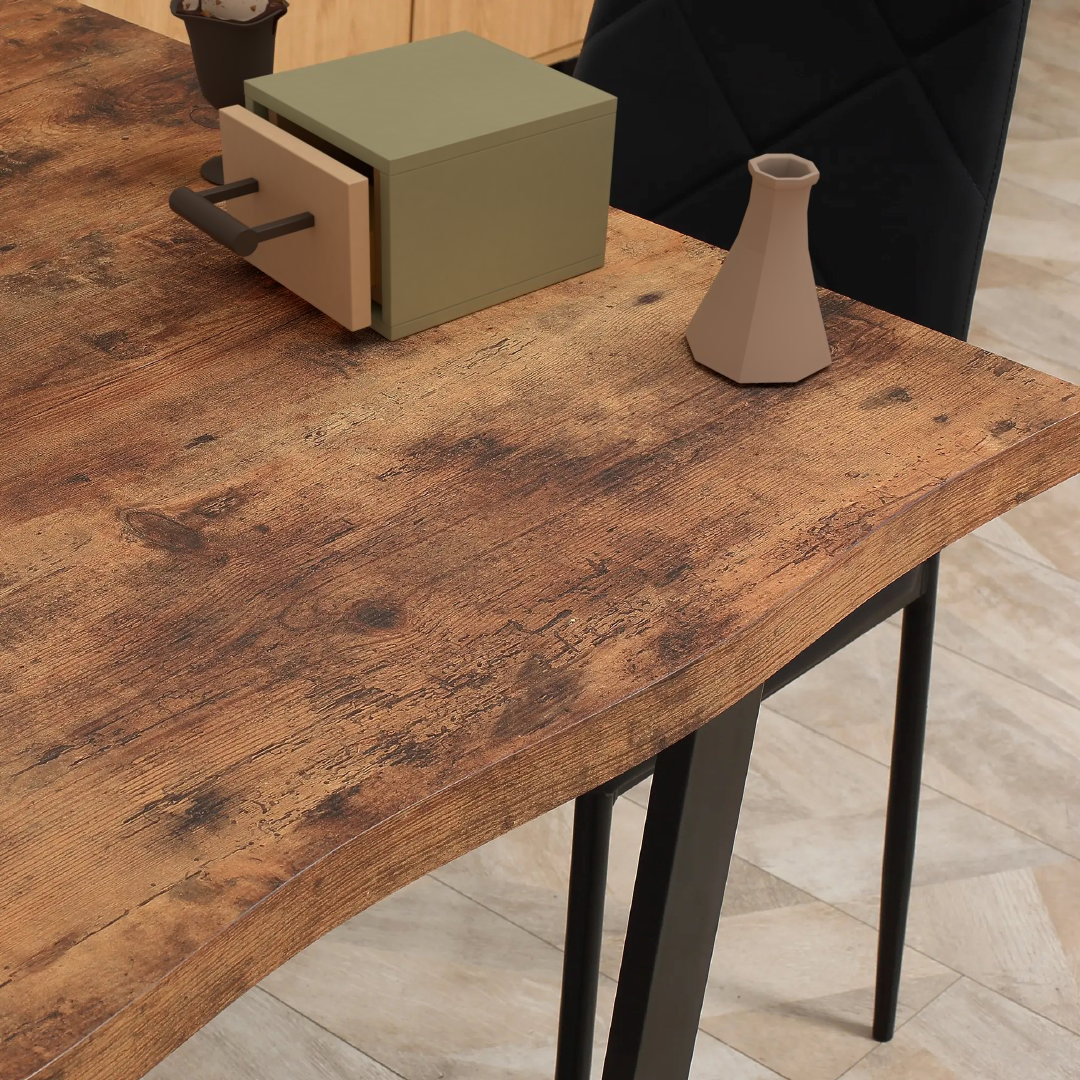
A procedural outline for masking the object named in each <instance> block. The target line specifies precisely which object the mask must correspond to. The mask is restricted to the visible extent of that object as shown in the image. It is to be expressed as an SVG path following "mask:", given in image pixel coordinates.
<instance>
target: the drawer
mask: <svg viewBox="0 0 1080 1080" xmlns="http://www.w3.org/2000/svg"><path fill="white" fill-rule="evenodd" d="M268 113H269V122H268V121H266V120H264V119H262V118H261V117H259V116H257V115H255V114H254V113H252V112H250V111H248V110H247V109H245V108H243V107H241V106H240V105H234V106H230V107H226V108H221V109H219V111H218V119H219V121H218V122H219V133H220V144H221V145H220V146H221V154H222V159H223V172H224V185H218V186H214V187H211V188H210V187H209V188H207V189H202V190H199V191H194V189H191V188H190V187H188V186H183V185H182V186H178V187H176V188H174V189H173V191H172V192H171V193H170V194H169V198H168V206H169V209H170V210H171V211H172V212H173V213H174V214H176V215H177V216H179V217H180V218H182V219H183V220H185V221H186V222H187V223H189V224H190V225H192V226H194V227H195V228H197V229H198V230H200V231H201V232H202V233H204V234H206V235H207V236H208V237H210V238H211V239H213V240H214V241H216V242H217V243H218V244H220V245H221V246H223V247H225V248H226V249H228V250H229V251H230V252H232V253H234V254H235V255H237V256H238V257H241V258H242V259H243V260H245V261H246V262H248V263H250V264H251V265H253V266H254V267H255V268H257V269H258V270H260V271H261V272H263V273H264V274H266V275H267V276H269V277H270V278H272V279H273V280H275V281H276V282H277V283H279V284H281V285H282V286H284V287H285V288H287V289H288V290H289V291H291V292H293V293H294V294H295V295H296V296H298V297H300V298H302V299H303V300H304V301H306V302H307V303H309V304H310V305H312V306H313V307H314V308H316V309H318V311H321V312H322V313H324V314H325V315H326V316H328V317H329V318H331V319H332V320H334V321H335V322H337V323H338V324H340V325H341V326H343V327H344V328H346V329H347V330H349V331H350V332H352V333H353V332H356V331H359V330H362V329H364V328H365V329H366V328H367V327H368V328H369V326H370V325H371V299H373V300H374V301H376V302H377V303H379V304H380V305H382V267H381V202H380V172H381V171H379V170H378V169H376V168H374V167H372V166H370V165H369V164H367V163H365V162H363V161H362V160H360V159H358V158H356V157H354V156H353V155H351V154H349V153H347V152H345V151H344V150H342V149H340V148H338V147H336V146H335V145H333V144H331V143H329V142H328V141H326V140H324V139H322V138H320V137H319V136H317V135H315V134H313V133H311V132H310V131H308V130H306V129H304V128H302V127H301V126H299V125H297V124H295V123H294V122H292V121H290V120H288V119H286V118H285V117H283V116H281V115H279V114H277V113H276V112H274V111H272V110H270V109H269V108H268ZM368 184H370V185H371V186H373V187H374V216H375V272H376V285H375V286H372V287H370V242H369V192H368ZM222 202H225V207H226V208H225V210H224V209H222V208H220V207H219V206H217V205H216V204H218V203H222Z"/></svg>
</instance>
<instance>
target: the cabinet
mask: <svg viewBox="0 0 1080 1080" xmlns="http://www.w3.org/2000/svg"><path fill="white" fill-rule="evenodd" d="M244 93H245V103H246V109H247V110H248V111H250V112H252V113H254V114H255V115H257V116H259V117H261V118H262V119H264V120H266V121H268V122H269V113H268V108H269V109H270V110H272V111H274V112H276V113H277V114H279V115H281V116H283V117H285V118H286V119H288V120H290V121H292V122H294V123H295V124H297V125H299V126H301V127H302V128H304V129H306V130H308V131H310V132H311V133H313V134H315V135H317V136H319V137H320V138H322V139H324V140H326V141H328V142H329V143H331V144H333V145H335V146H336V147H338V148H340V149H342V150H344V151H345V152H347V153H349V154H351V155H353V156H354V157H356V158H358V159H360V160H362V161H363V162H365V163H367V164H369V165H370V166H372V167H374V168H376V169H378V170H379V171H381V172H380V202H381V267H382V305H380V304H379V303H377V302H376V301H374V300H373V299H371V325H370V326H368V328H369V329H370V328H371V329H372V330H373V331H375V332H377V334H379V335H381V336H382V337H384V338H385V339H387V340H388V341H390V342H394V341H397V340H400V339H403V338H407V337H409V336H411V335H414V334H417V333H420V332H423V331H425V330H428V329H431V328H434V327H436V326H437V327H438V326H440V325H441V324H445V323H448V322H451V321H453V320H456V319H458V318H463V317H464V316H468V315H470V314H473V313H476V312H478V311H481V310H485V309H487V308H490V307H493V306H495V305H496V306H497V305H499V304H501V303H504V302H506V301H509V300H510V301H511V300H512V299H514V298H517V297H518V298H519V297H520V296H524V295H526V294H530V293H532V292H534V291H537V290H540V289H543V288H546V287H549V286H552V285H554V284H557V283H560V282H562V281H566V280H568V279H571V278H575V277H576V276H577V277H578V276H580V275H583V274H585V273H588V272H591V271H593V270H596V269H599V268H603V267H604V266H605V260H606V248H607V247H606V246H607V235H608V225H609V224H608V221H609V209H610V198H611V197H610V196H611V187H612V186H611V185H612V184H611V183H612V169H613V158H614V147H615V146H614V144H615V133H616V121H617V109H618V97H617V96H615V95H613V94H611V93H609V92H606V91H604V90H602V89H599V88H597V87H595V86H593V85H591V84H588V83H587V82H584V81H581V80H579V79H577V78H574V77H572V76H570V75H568V74H565V73H563V72H561V71H558V70H556V69H554V68H553V67H550V66H548V65H546V64H543V63H541V62H539V61H537V60H534V59H532V58H530V57H527V56H525V55H523V54H520V53H518V52H516V51H513V50H512V49H509V48H507V47H505V46H502V45H500V44H498V43H496V42H494V41H491V40H489V39H487V38H485V37H482V36H480V35H478V34H475V33H474V32H471V31H468V30H466V29H464V30H460V31H455V32H451V33H447V34H443V35H437V36H433V37H430V38H424V39H420V40H416V41H412V42H408V43H402V44H399V45H394V46H390V47H385V48H381V49H377V50H372V51H367V52H364V53H359V54H355V55H350V56H346V57H341V58H336V59H332V60H328V61H323V62H320V63H319V62H318V63H314V64H310V65H306V66H302V67H297V68H293V69H288V70H284V71H280V72H276V73H273V74H270V75H266V76H261V77H257V78H253V79H248V80H244Z"/></svg>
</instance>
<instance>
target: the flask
mask: <svg viewBox="0 0 1080 1080" xmlns="http://www.w3.org/2000/svg"><path fill="white" fill-rule="evenodd" d="M747 167H748V168H747V169H748V171H749V174H750V176H751V177H752V182H751V189H750V196H749V202H748V205H747V207H746V209H745V210H746V211H745V213H744V216H743V219H742V222H741V225H740V228H739V232H738V234H737V236H736V238H735V240H734V242H733V243H732V245H731V248H730V249H729V251H728V253H727V255H726V257H725V258H724V260H723V263H722V264H721V267H720V268H719V270H718V272H717V273H716V276H715V278H714V280H713V281H712V283H711V285H710V287H709V288H708V289H707V292H706V293H705V295H704V297H702V300H701V302H700V304H699V305H698V306H697V309H696V310H695V312H694V314H693V315H692V317H691V319H690V321H689V323H688V325H687V326H686V328H685V330H684V332H683V333H684V335H685V338H686V341H687V343H688V346H689V348H690V351H691V353H692V354H693V355H692V356H693V358H694V361H696V362H698V363H700V364H701V365H703V366H706V367H707V368H709V369H711V370H713V371H715V372H716V373H719V374H721V375H723V376H725V377H726V378H729V379H730V380H733V381H735V382H736V383H738V384H759V383H760V384H762V383H764V384H765V383H766V384H767V383H797V382H799V381H801V380H803V379H805V378H807V377H809V376H811V375H813V374H814V373H817V372H818V371H820V370H822V369H824V368H826V367H828V366H830V365H832V364H833V361H832V356H831V351H830V345H829V342H828V337H827V334H826V333H827V332H826V329H825V328H826V327H825V324H824V320H823V319H824V318H823V316H822V315H823V314H822V311H821V307H820V303H819V297H818V293H817V288H816V287H817V286H816V282H815V277H814V272H813V266H812V261H811V255H810V251H809V235H808V234H809V233H808V232H809V230H808V208H809V201H810V195H811V189H812V186H813V185H816V184H817V183H818V181H819V179H820V171H819V170H818V168H817V167H816V165H815V163H814V162H813V161H811V160H808V159H806V158H803V157H800V156H799V155H797V154H796V155H795V154H793V153H765V154H762V155H759V156H756V157H753V158H751V159H749V160H748V163H747Z"/></svg>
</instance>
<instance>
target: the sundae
mask: <svg viewBox="0 0 1080 1080" xmlns="http://www.w3.org/2000/svg"><path fill="white" fill-rule="evenodd" d="M169 4H170V5H169V10H170V13H171V15H172V16H174V17H175V18H178V19H179V20H182V21H183V23H184V27H185V30H186V33H187V36H188V40H189V46H190V49H191V54H192V60H193V64H194V69H195V74H196V78H197V80H198V83H199V87H200V91H201V94H202V97H203V98H204V99H205V100H206V101H207V102H208V103H209V104H210V105H211V107H213V108H214V109H215V110H216V111H218V112H219V109H221V108H226V107H230V106H234V105H240V106H241V107H243V108H245V109H246V103H245V93H244V80H248V79H253V78H257V77H261V76H266V75H270V74H274V67H275V66H274V65H275V53H276V52H275V50H276V38H277V30H278V24H279V20H280V19H281V18H283V17H284V16H285V15H287V13H288V11H289V10H288V8H289V7H290V3H289V2H288V1H287V0H171V1H170V3H169ZM199 169H200V170H199V173H200V175H201V176H202V177H203V178H204V179H205V180H207V181H209V182H211V183H213V184H215V185H218V186H221V185H224V172H223V159H222V153H220V154H218V155H215V156H212V157H210V158H208V160H206V161H204V162H203V163H202V164H201V166H200V168H199Z"/></svg>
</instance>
